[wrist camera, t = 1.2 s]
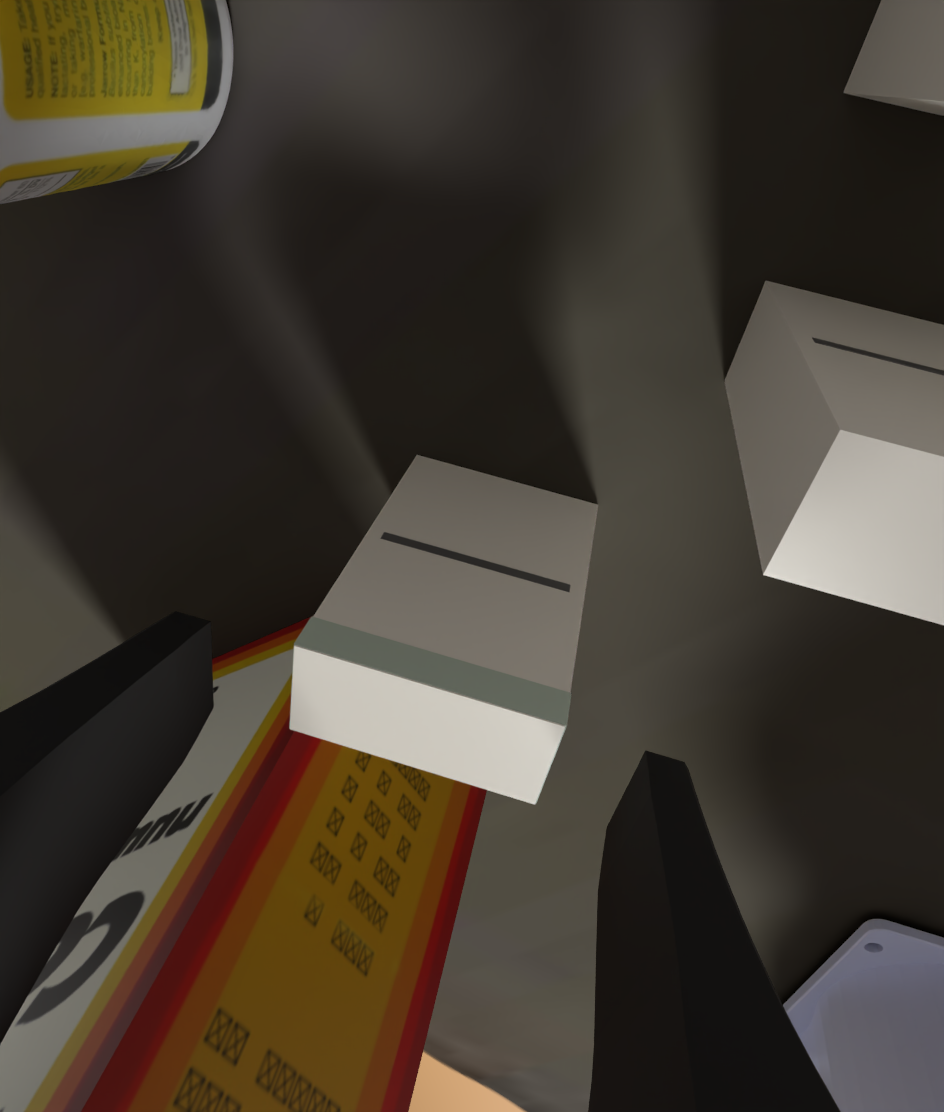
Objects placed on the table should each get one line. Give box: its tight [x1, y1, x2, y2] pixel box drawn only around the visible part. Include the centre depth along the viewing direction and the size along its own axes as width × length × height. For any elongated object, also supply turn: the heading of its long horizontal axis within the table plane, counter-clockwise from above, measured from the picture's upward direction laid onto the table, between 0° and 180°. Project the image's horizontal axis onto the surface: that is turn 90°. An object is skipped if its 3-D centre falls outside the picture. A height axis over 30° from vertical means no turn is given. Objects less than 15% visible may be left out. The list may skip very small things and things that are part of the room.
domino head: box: [289, 455, 598, 804], centre depth 15 cm, size 2×4×7 cm, turn 80°
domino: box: [724, 281, 944, 625], centre depth 11 cm, size 2×4×7 cm, turn 80°
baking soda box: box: [0, 616, 487, 1112], centre depth 16 cm, size 10×6×16 cm
